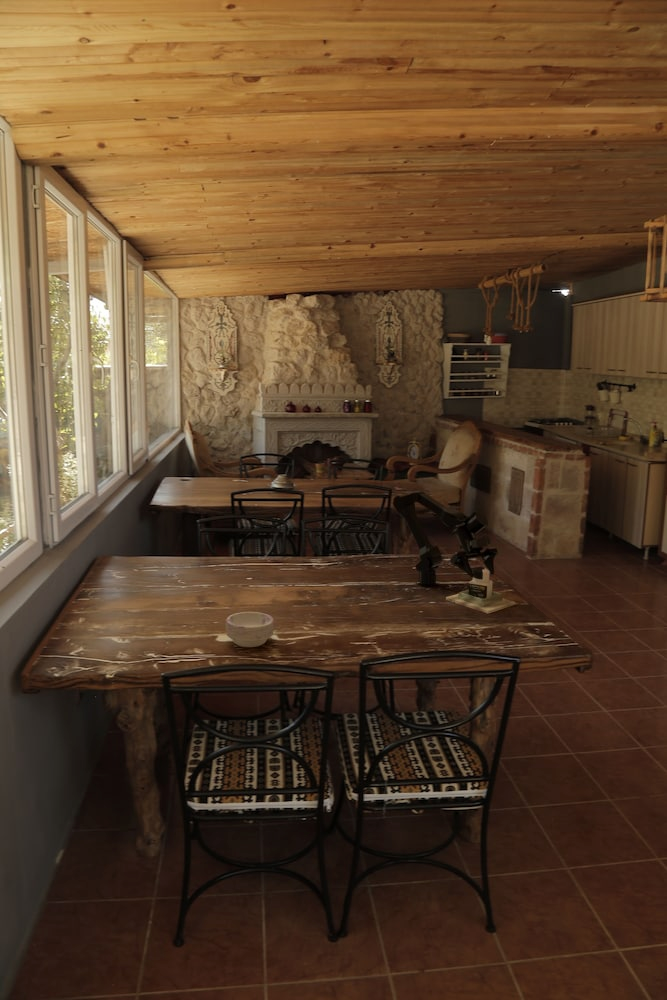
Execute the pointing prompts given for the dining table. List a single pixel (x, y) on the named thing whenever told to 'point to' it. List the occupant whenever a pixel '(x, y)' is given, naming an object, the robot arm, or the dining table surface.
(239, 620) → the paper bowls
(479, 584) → the medicine bottle
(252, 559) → the dining table surface
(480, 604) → the holder board
